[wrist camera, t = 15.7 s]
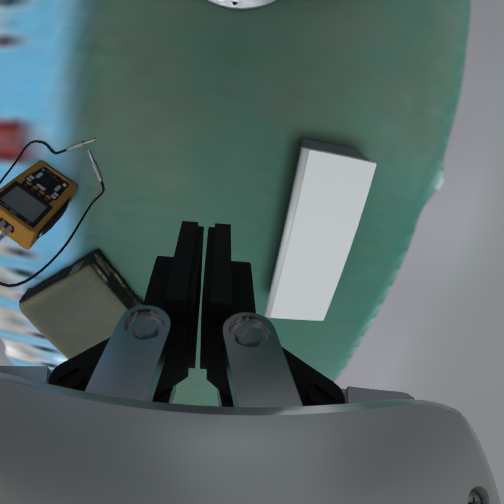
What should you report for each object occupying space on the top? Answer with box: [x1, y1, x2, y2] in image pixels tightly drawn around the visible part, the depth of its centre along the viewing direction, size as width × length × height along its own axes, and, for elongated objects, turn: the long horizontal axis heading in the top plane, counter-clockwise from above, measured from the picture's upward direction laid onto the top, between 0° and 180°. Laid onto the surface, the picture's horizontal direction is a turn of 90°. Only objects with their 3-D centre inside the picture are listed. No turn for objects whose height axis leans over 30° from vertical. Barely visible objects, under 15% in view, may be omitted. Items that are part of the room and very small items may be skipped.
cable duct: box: [269, 138, 370, 293], centre depth 42 cm, size 24×7×5 cm, turn 172°
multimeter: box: [0, 139, 104, 287], centre depth 27 cm, size 15×10×20 cm
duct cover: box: [264, 147, 376, 321], centre depth 39 cm, size 24×9×1 cm, turn 172°
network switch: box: [19, 250, 143, 359], centre depth 49 cm, size 23×23×5 cm
